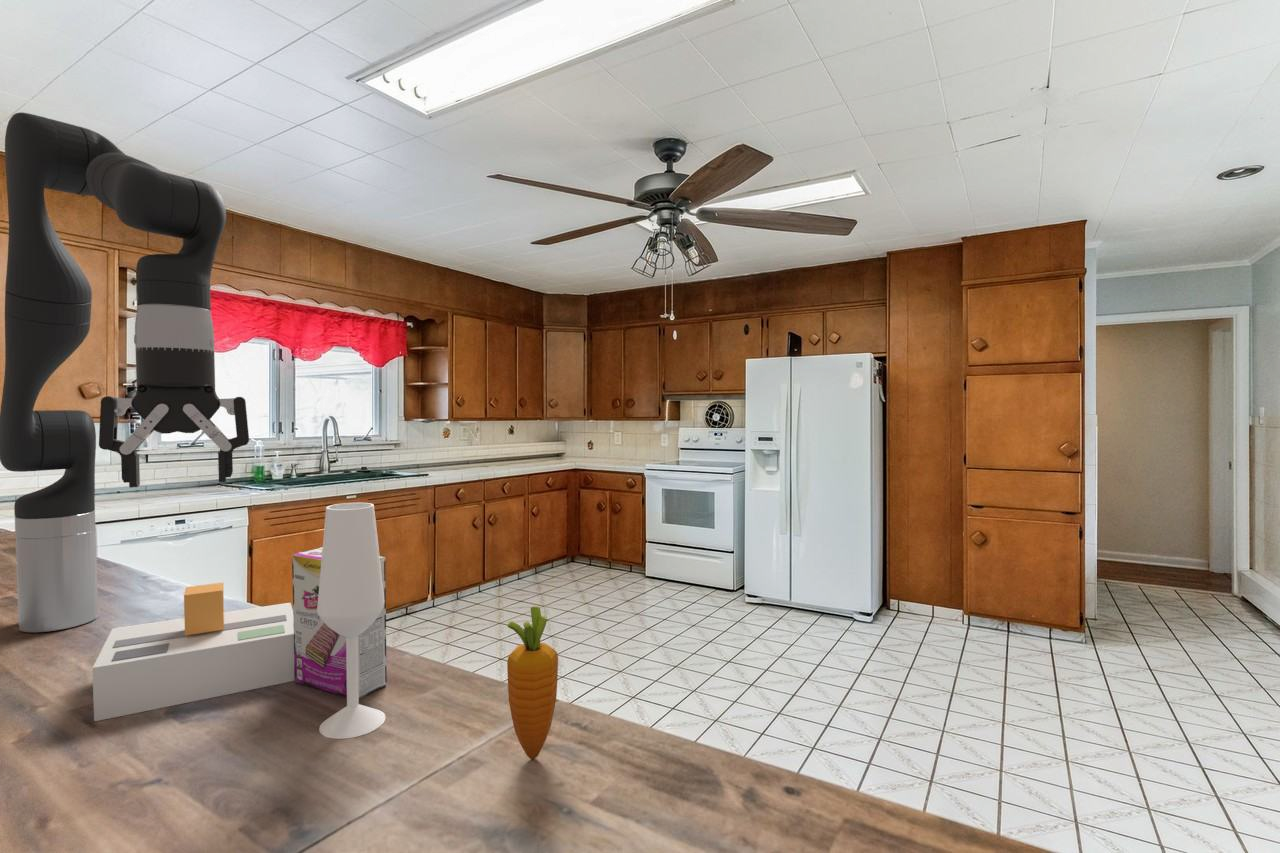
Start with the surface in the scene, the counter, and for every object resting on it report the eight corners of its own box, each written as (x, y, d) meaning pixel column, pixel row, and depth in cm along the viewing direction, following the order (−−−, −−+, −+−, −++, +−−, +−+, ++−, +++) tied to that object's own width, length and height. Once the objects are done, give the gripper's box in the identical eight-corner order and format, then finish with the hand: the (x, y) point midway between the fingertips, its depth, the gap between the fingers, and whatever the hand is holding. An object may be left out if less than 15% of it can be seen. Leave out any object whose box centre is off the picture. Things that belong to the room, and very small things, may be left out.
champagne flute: (334, 746, 66) (330, 514, 65) (309, 723, 70) (305, 506, 69) (396, 722, 71) (394, 506, 70) (369, 702, 75) (367, 499, 74)
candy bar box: (291, 684, 80) (289, 553, 79) (325, 669, 84) (324, 545, 84) (356, 702, 75) (354, 564, 74) (389, 685, 80) (387, 555, 79)
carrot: (535, 779, 60) (535, 622, 60) (496, 763, 63) (496, 612, 62) (568, 755, 64) (568, 608, 64) (530, 740, 67) (530, 599, 66)
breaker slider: (186, 625, 82) (185, 587, 82) (224, 620, 84) (223, 582, 84) (184, 635, 78) (183, 595, 78) (223, 629, 81) (222, 590, 80)
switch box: (114, 674, 82) (112, 627, 82) (291, 643, 93) (290, 601, 93) (94, 721, 70) (92, 667, 70) (299, 679, 81) (299, 632, 81)
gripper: (247, 351, 82) (250, 477, 83) (105, 346, 75) (109, 484, 76) (246, 347, 76) (249, 484, 76) (90, 341, 69) (95, 492, 69)
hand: (179, 484), depth 76 cm, fingers open, 8 cm apart
